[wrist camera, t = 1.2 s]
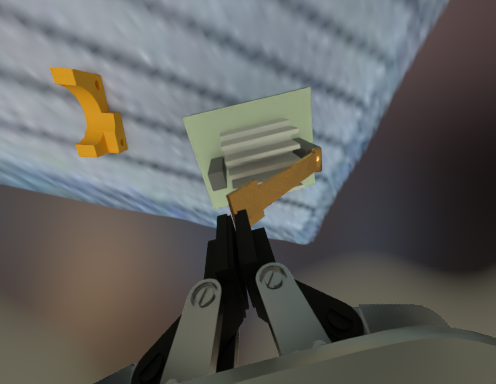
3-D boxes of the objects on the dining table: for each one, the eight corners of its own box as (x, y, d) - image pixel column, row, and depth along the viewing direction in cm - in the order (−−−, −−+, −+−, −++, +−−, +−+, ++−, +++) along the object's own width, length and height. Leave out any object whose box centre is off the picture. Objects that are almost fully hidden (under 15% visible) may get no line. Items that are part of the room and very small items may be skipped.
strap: (314, 142, 28) (323, 142, 27) (315, 172, 30) (323, 173, 29) (223, 194, 19) (231, 197, 18) (235, 231, 21) (242, 235, 20)
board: (307, 87, 34) (338, 81, 25) (312, 182, 43) (336, 203, 34) (183, 117, 34) (168, 122, 25) (214, 206, 43) (211, 234, 34)
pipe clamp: (128, 149, 35) (109, 157, 30) (103, 148, 35) (79, 156, 29) (112, 76, 30) (86, 70, 24) (83, 73, 30) (49, 66, 24)
